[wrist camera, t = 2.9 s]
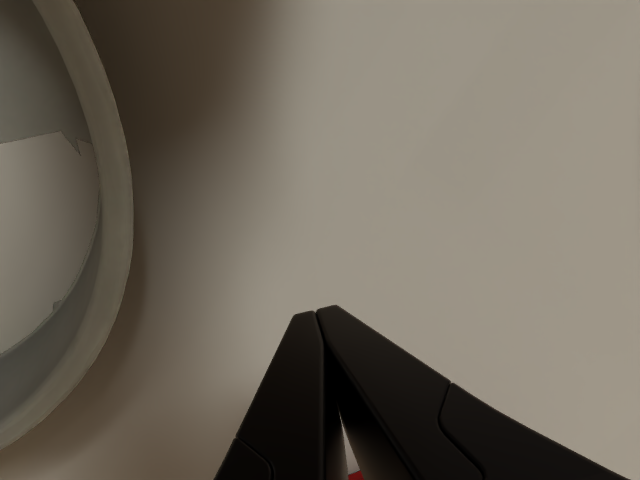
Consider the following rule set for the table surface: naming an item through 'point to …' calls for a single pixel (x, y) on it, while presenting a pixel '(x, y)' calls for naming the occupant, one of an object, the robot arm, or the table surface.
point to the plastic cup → (356, 476)
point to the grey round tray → (113, 203)
